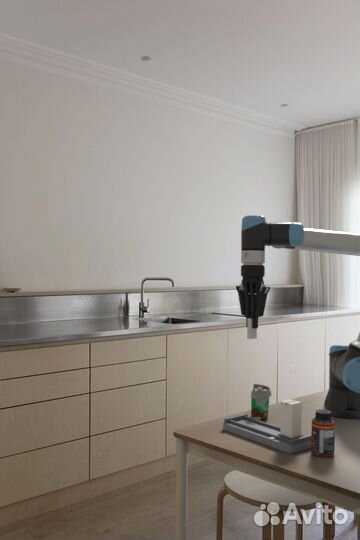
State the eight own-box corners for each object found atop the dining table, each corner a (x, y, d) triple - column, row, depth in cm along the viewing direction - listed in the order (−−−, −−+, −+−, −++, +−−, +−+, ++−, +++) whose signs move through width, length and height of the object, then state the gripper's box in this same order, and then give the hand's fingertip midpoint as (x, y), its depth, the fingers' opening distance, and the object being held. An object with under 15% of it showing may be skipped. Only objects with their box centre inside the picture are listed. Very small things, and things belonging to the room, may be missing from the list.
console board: (246, 423, 165) (246, 413, 165) (314, 446, 144) (314, 434, 144) (222, 429, 159) (223, 418, 159) (290, 453, 138) (290, 441, 138)
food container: (270, 425, 164) (271, 392, 164) (250, 423, 165) (251, 391, 165) (271, 414, 176) (272, 384, 176) (253, 413, 177) (253, 383, 177)
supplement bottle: (308, 450, 141) (308, 408, 141) (329, 449, 142) (330, 407, 142) (315, 458, 135) (315, 414, 135) (338, 457, 136) (338, 414, 136)
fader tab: (289, 434, 148) (290, 398, 148) (303, 438, 144) (304, 402, 144) (277, 437, 145) (278, 401, 145) (291, 442, 141) (292, 405, 141)
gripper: (230, 264, 170) (229, 337, 170) (259, 264, 160) (258, 341, 160) (246, 264, 175) (245, 335, 175) (276, 264, 165) (275, 340, 165)
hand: (251, 338), depth 167 cm, fingers closed
